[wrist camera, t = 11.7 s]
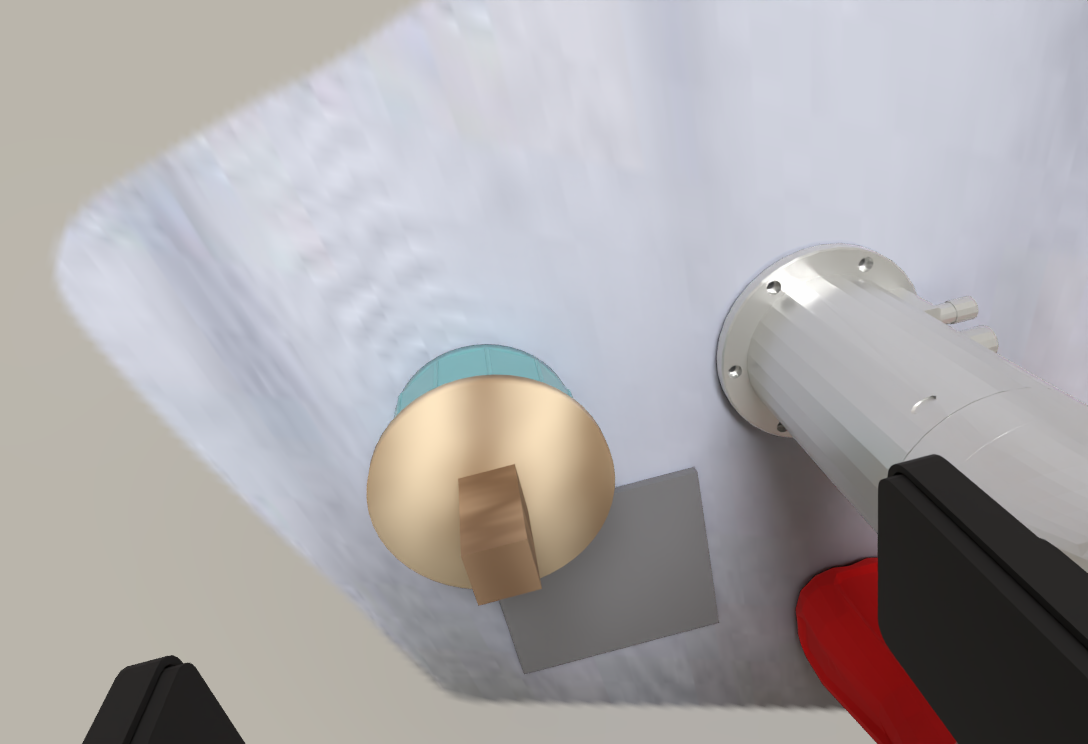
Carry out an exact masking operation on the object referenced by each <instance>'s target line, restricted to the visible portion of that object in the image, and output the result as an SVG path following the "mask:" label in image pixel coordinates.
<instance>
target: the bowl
mask: <svg viewBox="0 0 1088 744" xmlns="http://www.w3.org/2000/svg"><path fill="white" fill-rule="evenodd" d="M494 374H495V375H513V376H519V377H525V378H530V379H533V380H536V381H540V382H543V383H546V384H548V385H550V386H552V387H555V388H557V389H559V390H560V391H562V392H564V393H565V394H567V395H569V396H570V397H572V394H571V392H570V391H569V389H567V388H566V387H565V386H564V384H563V383H562V381H561V380H560V379H559V377H558V376H557V375H556V374H555V373H554V371H553V370H552V369H551V368H550V367H548V366H547V365H546V364H545V363H544V362H542V361H541V360H539V359H538V358H536V357H534V356H533V355H531V354H528V353H526V352H524V351H522V350H518V349H515V348H512V347H507V346H502V345H490V344H483V345H471V346H466V347H461V348H458V349H455V350H452V351H449V352H447V353H444V354H442V355H440V356H438V357H436V358H435V359H433V360H432V361H430V362H428V363H427V364H426V365H425V366H423V367H422V368H421V369H420V370H419V371H418V372H417V373H416V374H415V375H414V376H413V377H412V378H411V379H410V381H409V382H408V383H407V385H406V386H405V388H404V389H403V391H402V393H400V395H399V398H398V403H397V406H396V409H395V415H394V418H395V417H396V416H397V415H398V414H399V413H400V411H401V410H403V409H404V408H405V407H406V406H408V405H409V404H410V403H411V402H412V401H414V400H415V399H417V398H418V397H420V396H422V395H423V394H425V393H426V392H428V391H430V390H432V389H435V388H437V387H439V386H441V385H443V384H446V383H449V382H452V381H456V380H459V379H463V378H468V377H473V376H480V375H494ZM572 398H573V397H572Z"/></svg>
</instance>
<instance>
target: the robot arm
mask: <svg viewBox="0 0 1088 744" xmlns="http://www.w3.org/2000/svg"><path fill="white" fill-rule="evenodd" d="M770 282H771V284H770V285H769V286H768V287H767V285H768V284H769V283H770ZM977 314H978V305H977V303H976V301H975V300H974V299H973V298H972V297H971V296H965V297H961V298H957V299H953V300H949V301H946V302H945V303H942V304H938V305H933V304H932V303H930V302H928V301H926V300H924V299H922V298H920V297H919V296H917V294H916V291H915V288H914V285H913V284H912V282H911V281H910V279H909V278H908V277H907V275H906V274H905V272H904V271H903V270H902V269H901V268H900V267H898V266H897V265H896V264H895V263H894V262H893V261H892V260H890V259H888V258H886V257H884V256H883V255H881V254H879V253H877V252H875V251H872V250H870V249H867V248H864V247H862V246H858V245H851V244H843V243H836V244H821V245H817V246H813V247H810V248H806V249H802V250H799V251H797V252H795V253H793V254H790V255H788V256H786V257H784V258H782V259H780V260H779V261H777V262H776V263H774V264H773V265H771V266H770V267H768V268H767V269H765V270H764V271H763V272H762V273H761V274H759V275H758V276H757V277H756V278H755V279H754V280H753V281H752V282H751V283H750V284H749V285H748V286H747V287H746V288H745V290H744V291H743V292H742V293H741V295H740V296H739V297H738V299H737V300H736V301H735V303H734V305H733V306H732V308H731V310H730V312H729V314H728V316H727V317H726V319H725V322H724V325H723V328H722V331H721V334H720V337H719V343H718V350H717V369H718V376H719V379H720V383H721V386H722V389H723V391H724V393H725V395H726V396H727V398H728V400H729V402H730V403H731V404H732V406H733V407H734V408H735V409H736V410H737V412H738V413H739V414H740V415H741V416H742V417H743V418H744V419H745V420H746V421H748V422H749V423H750V424H751V425H753V426H755V427H756V428H758V429H760V430H762V431H764V432H766V433H769V434H773V435H776V436H780V437H790V438H794V439H795V440H796V441H797V442H798V443H799V445H800V446H801V447H802V448H803V449H804V450H805V451H806V453H807V454H808V455H809V456H810V457H811V458H812V459H813V461H814V462H815V463H816V464H817V465H818V466H819V467H820V469H821V470H822V471H823V472H824V473H825V474H826V476H827V477H828V478H829V479H830V480H831V481H832V482H833V484H834V485H835V486H836V487H837V488H838V489H839V490H840V492H841V493H842V494H843V495H844V496H845V497H846V498H847V500H848V501H849V502H850V503H851V504H852V505H853V506H854V508H855V509H856V510H857V511H858V512H859V513H860V515H861V516H862V517H863V518H864V519H865V520H866V521H867V523H868V524H869V525H870V526H871V527H872V528H873V529H874V531H875V532H876V533H877V534H878V625H879V629H880V632H881V634H882V637H883V639H884V641H885V643H886V645H887V646H888V648H889V649H890V651H891V652H892V654H893V655H894V656H895V658H896V659H897V660H898V662H899V663H900V665H901V666H902V667H903V669H904V670H905V671H906V673H907V674H908V676H909V677H910V678H911V680H912V681H913V682H914V684H915V685H916V687H917V688H918V689H919V691H920V692H921V693H922V695H923V696H924V698H925V699H926V700H927V702H928V703H929V704H930V706H931V707H932V709H933V710H934V711H935V713H936V714H937V715H938V717H939V718H940V720H941V721H942V722H943V724H944V725H945V726H946V728H947V729H948V731H949V732H950V733H951V735H952V736H953V737H954V739H955V740H956V743H955V744H1088V405H1086V404H1084V403H1082V402H1081V401H1079V400H1077V399H1076V398H1074V397H1072V396H1070V395H1068V394H1067V393H1065V392H1063V391H1061V390H1060V389H1058V388H1056V387H1054V386H1053V385H1051V384H1049V383H1047V382H1046V381H1044V380H1042V379H1040V378H1039V377H1037V376H1035V375H1033V374H1032V373H1030V372H1028V371H1026V370H1025V369H1023V368H1021V367H1020V366H1018V365H1016V364H1014V363H1013V362H1011V361H1009V360H1007V359H1006V358H1004V357H1002V356H1000V355H999V354H997V350H998V341H997V337H996V335H995V333H994V331H993V330H992V329H991V328H989V327H988V326H984V325H981V326H977V327H974V328H970V329H966V330H962V331H957V330H955V329H953V328H952V327H950V326H948V325H947V324H955V323H959V322H963V321H967V320H971V319H974V318H975V317H977ZM731 367H732V368H731ZM82 744H245V742H244V741H243V739H242V738H241V736H240V735H239V733H238V732H237V730H236V728H235V727H234V725H233V724H232V722H231V721H230V719H229V718H228V716H227V715H226V713H225V712H224V710H223V709H222V707H221V705H220V704H219V702H218V701H217V699H216V698H215V696H214V695H213V693H212V692H211V691H210V689H209V687H208V686H207V684H206V682H205V681H204V679H203V678H202V677H201V675H200V673H199V672H198V670H197V669H196V668H195V666H194V665H193V664H190V663H184V664H183V663H182V661H181V660H180V659H179V658H178V657H175V656H173V655H171V656H165V657H162V658H158V659H154V660H150V661H147V662H143V663H139V664H135V665H131V666H127V667H126V668H124V669H123V670H121V671H120V673H119V674H118V676H117V677H116V678H115V680H114V682H113V684H112V686H111V688H110V690H109V692H108V694H107V696H106V698H105V700H104V702H103V704H102V706H101V708H100V710H99V712H98V714H97V716H96V718H95V720H94V722H93V724H92V726H91V728H90V730H89V731H88V733H87V735H86V737H85V739H84V741H83V743H82Z"/></svg>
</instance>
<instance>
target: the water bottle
mask: <svg viewBox="0 0 1088 744" xmlns="http://www.w3.org/2000/svg"><path fill="white" fill-rule="evenodd" d="M796 616H797V624H798V636H799V639H800V643H801V646H802V648H803V651H804V653H805V656H806V658H807V659H808V661H809V663H810V664H811V666H812V668H813V669H814V671H815V673H816V674H817V676H818V678H819V679H820V681H821V683H822V684H823V685H824V686H825V687H826V689H827V690H828V691H829V692H830V693H831V694H832V695H833V696H834V697H835V698H836V699H837V700H838V702H839V703H840V704H841V705H842V706H843V707H844V708H845V709H846V710H847V711H848V712H849V713H850V715H851V716H852V717H853V718H854V719H855V720H856V721H857V722H858V723H859V724H860V725H861V726H862V728H864V730H865V731H866V732H867V733H868V734H869V735H870V736H871V737H872V738H873V739H874V741H875V742H876V743H877V744H955V743H956V740H955V739H954V737H953V736H952V735H951V733H950V732H949V731H948V729H947V728H946V726H945V725H944V724H943V722H942V721H941V720H940V718H939V717H938V715H937V714H936V713H935V711H934V710H933V709H932V707H931V706H930V704H929V703H928V702H927V700H926V699H925V698H924V696H923V695H922V693H921V692H920V691H919V689H918V688H917V687H916V685H915V684H914V682H913V681H912V680H911V678H910V677H909V676H908V674H907V673H906V671H905V670H904V669H903V667H902V666H901V665H900V663H899V662H898V660H897V659H896V658H895V656H894V655H893V654H892V652H891V651H890V649H889V648H888V646H887V645H886V643H885V641H884V639H883V637H882V634H881V632H880V629H879V625H878V558H866V559H864V560H861V561H859V562H857V563H854V564H852V565H850V566H844V567H835V568H831V569H829V570H827V571H824V572H822V573H820V574H818V575H816V576H814V577H813V578H812V580H811V581H810V582H809V583H808V584H807V585H806V586H805V587H804V588H803V589H802V590H801V591H800V595H799V599H798V602H797V606H796Z"/></svg>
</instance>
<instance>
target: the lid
mask: <svg viewBox="0 0 1088 744" xmlns="http://www.w3.org/2000/svg"><path fill="white" fill-rule="evenodd" d="M614 490H615V472H614V465H613V460H612V457H611V453H610V450H609V448H608V445H607V443H606V440H605V438H604V436H603V434H602V432H601V430H600V428H599V426H598V425H597V423H596V422H595V420H594V419H593V417H592V416H591V415H590V414H589V413H588V412H587V411H586V410H585V408H584V407H583V406H582V405H580V404H579V403H578V402H577V401H575V400H574V399H573V398H572V397H570V396H569V395H567V394H565V393H564V392H562V391H560V390H559V389H557V388H555V387H552V386H550V385H548V384H546V383H543V382H540V381H536V380H533V379H530V378H525V377H519V376H513V375H495V374H494V375H480V376H473V377H468V378H463V379H459V380H456V381H452V382H449V383H446V384H443V385H441V386H439V387H437V388H435V389H432V390H430V391H428V392H426V393H425V394H423V395H422V396H420V397H418V398H417V399H415V400H414V401H412V402H411V403H410V404H409V405H408V406H406V407H405V408H404V409H403V410H401V411H400V413H399V414H398V415H397V416H396V417H395V418H394V419H393V420H392V421H391V422H390V424H389V425H388V426H387V428H386V429H385V431H384V432H383V433H382V435H381V437H380V439H379V441H378V443H377V445H376V447H375V450H374V453H373V456H372V459H371V463H370V469H369V475H368V481H367V504H368V510H369V515H370V518H371V521H372V524H373V526H374V528H375V530H376V532H377V534H378V536H379V538H380V539H381V541H382V542H383V543H384V545H385V546H386V547H387V549H388V550H389V551H390V552H391V553H392V554H393V555H394V556H395V557H396V558H397V559H398V560H399V561H401V562H402V563H403V564H405V565H406V566H407V567H408V568H410V569H412V570H413V571H415V572H417V573H418V574H420V575H422V576H424V577H427V578H429V579H431V580H433V581H436V582H440V583H443V584H446V585H450V586H455V587H460V588H468V589H473V592H474V595H475V597H476V600H477V603H478V606H479V605H483V604H487V603H490V602H494V601H498V600H502V599H505V598H509V597H513V596H517V595H521V594H524V593H528V592H532V591H536V590H539V589H542V586H541V580H540V578H542V577H544V576H546V575H549V574H551V573H553V572H554V571H556V570H558V569H560V568H561V567H563V566H565V565H566V564H567V563H569V562H570V561H572V560H573V559H574V558H575V557H577V556H578V555H579V554H580V553H581V552H582V551H583V550H584V549H585V548H586V547H587V546H588V545H589V544H590V543H591V542H592V540H593V539H594V538H595V537H596V535H597V534H598V532H599V531H600V529H601V528H602V526H603V524H604V522H605V520H606V518H607V516H608V513H609V510H610V508H611V505H612V501H613V495H614Z"/></svg>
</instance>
